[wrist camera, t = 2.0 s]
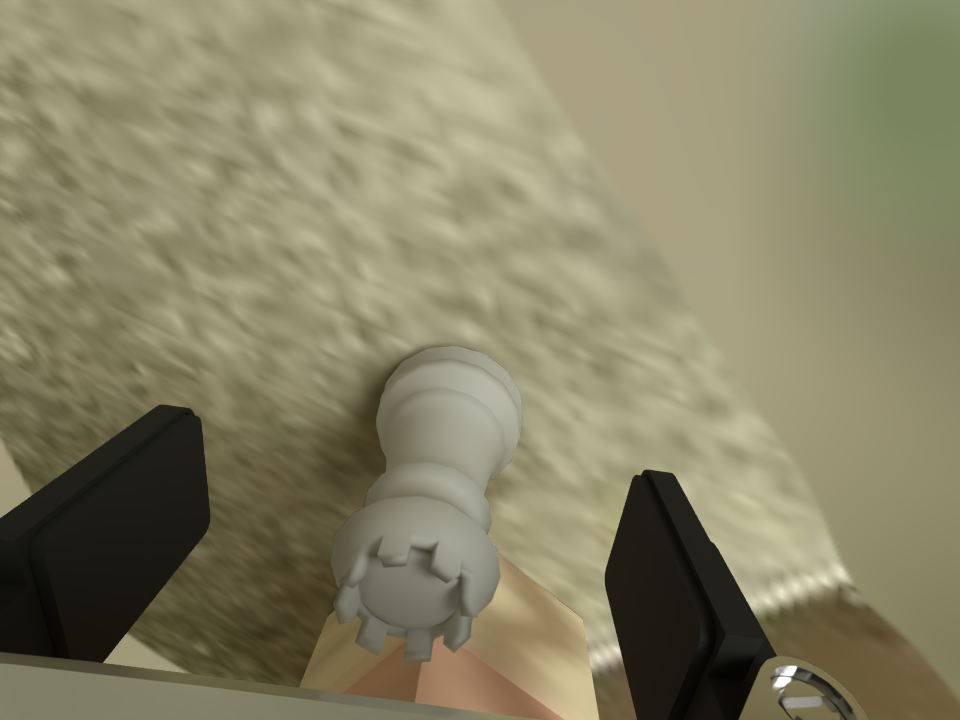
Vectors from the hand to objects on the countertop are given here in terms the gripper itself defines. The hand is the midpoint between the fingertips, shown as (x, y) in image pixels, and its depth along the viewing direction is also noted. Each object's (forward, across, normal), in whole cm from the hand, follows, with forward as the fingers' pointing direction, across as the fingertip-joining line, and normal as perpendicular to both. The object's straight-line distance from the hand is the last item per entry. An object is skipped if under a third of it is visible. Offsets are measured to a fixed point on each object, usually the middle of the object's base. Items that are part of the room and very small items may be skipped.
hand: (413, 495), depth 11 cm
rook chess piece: (+6, 0, +1) cm, 6 cm away
